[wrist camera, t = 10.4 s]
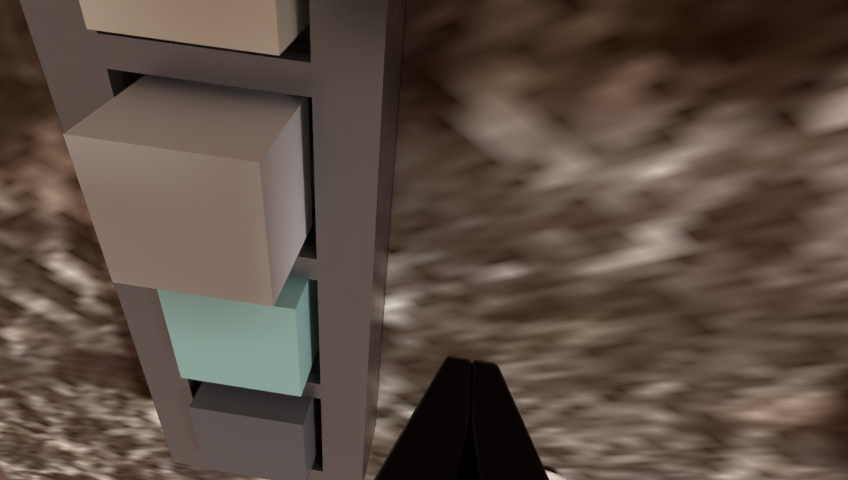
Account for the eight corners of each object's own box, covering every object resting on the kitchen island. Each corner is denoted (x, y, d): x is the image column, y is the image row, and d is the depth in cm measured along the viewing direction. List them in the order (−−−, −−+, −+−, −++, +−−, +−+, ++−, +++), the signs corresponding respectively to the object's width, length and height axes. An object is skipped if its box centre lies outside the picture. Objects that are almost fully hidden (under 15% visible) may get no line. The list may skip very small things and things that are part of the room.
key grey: (308, 93, 17) (259, 162, 14) (312, 224, 20) (273, 307, 17) (150, 71, 17) (62, 134, 14) (178, 204, 20) (112, 282, 17)
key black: (328, 349, 27) (302, 425, 24) (329, 410, 30) (306, 485, 27) (228, 333, 27) (189, 406, 24) (239, 395, 30) (205, 468, 27)
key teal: (326, 236, 23) (295, 309, 19) (327, 320, 26) (301, 396, 23) (208, 218, 23) (156, 288, 20) (223, 304, 26) (181, 377, 23)
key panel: (427, -284, 14) (403, -314, 10) (375, 426, 32) (361, 493, 29) (33, -330, 14) (-105, -372, 11) (206, 398, 32) (173, 462, 29)
